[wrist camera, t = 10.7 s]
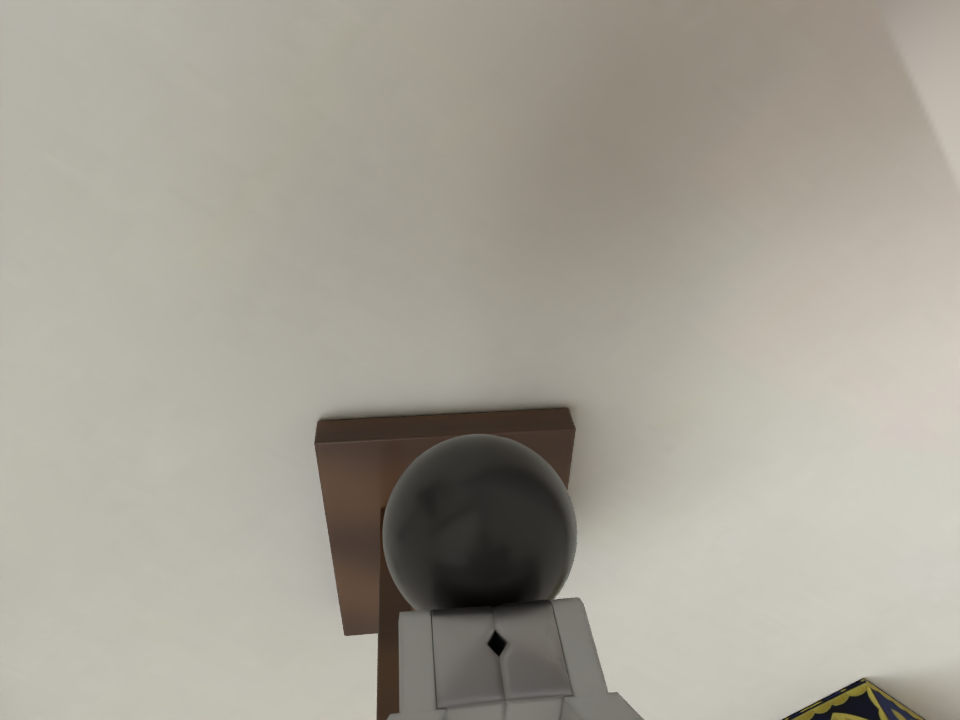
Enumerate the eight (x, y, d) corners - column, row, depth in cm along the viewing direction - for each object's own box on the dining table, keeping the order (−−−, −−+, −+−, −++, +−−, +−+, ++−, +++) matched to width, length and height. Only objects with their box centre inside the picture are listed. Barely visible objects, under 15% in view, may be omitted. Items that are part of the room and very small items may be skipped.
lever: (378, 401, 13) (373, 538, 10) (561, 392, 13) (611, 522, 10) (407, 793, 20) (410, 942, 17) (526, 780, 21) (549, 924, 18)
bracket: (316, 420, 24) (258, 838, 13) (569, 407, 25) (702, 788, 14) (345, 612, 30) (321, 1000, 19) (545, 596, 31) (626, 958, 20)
